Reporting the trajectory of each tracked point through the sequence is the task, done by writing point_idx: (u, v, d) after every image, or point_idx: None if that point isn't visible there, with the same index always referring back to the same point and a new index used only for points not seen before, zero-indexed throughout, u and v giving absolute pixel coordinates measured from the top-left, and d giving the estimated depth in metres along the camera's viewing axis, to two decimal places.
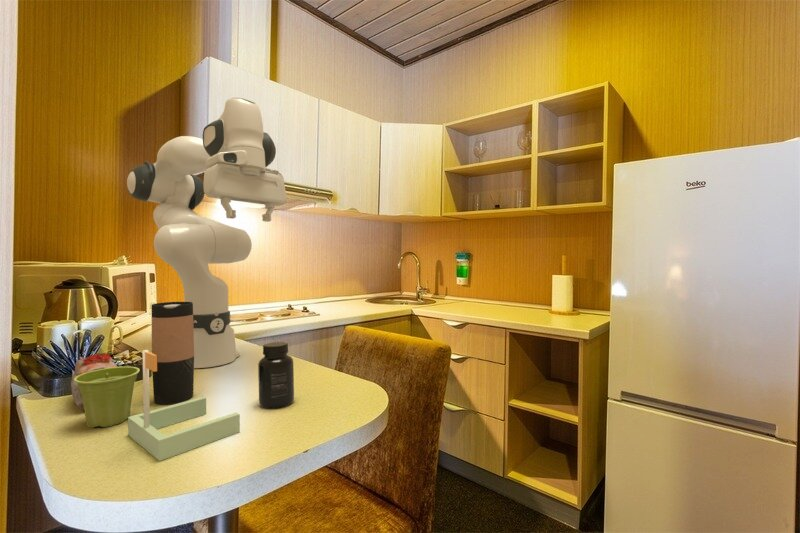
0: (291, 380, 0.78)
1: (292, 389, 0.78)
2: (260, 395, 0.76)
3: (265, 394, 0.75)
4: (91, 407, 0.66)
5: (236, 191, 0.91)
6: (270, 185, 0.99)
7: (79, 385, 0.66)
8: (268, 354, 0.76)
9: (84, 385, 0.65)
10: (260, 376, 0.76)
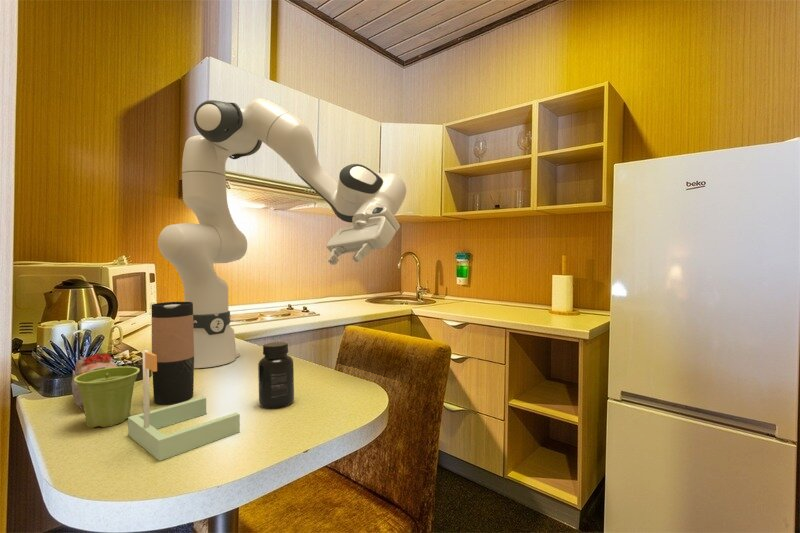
0: (291, 380, 0.78)
1: (292, 389, 0.78)
2: (260, 395, 0.76)
3: (265, 394, 0.75)
4: (90, 407, 0.66)
5: None
6: None
7: (79, 385, 0.66)
8: (268, 354, 0.76)
9: (84, 385, 0.65)
10: (260, 376, 0.76)
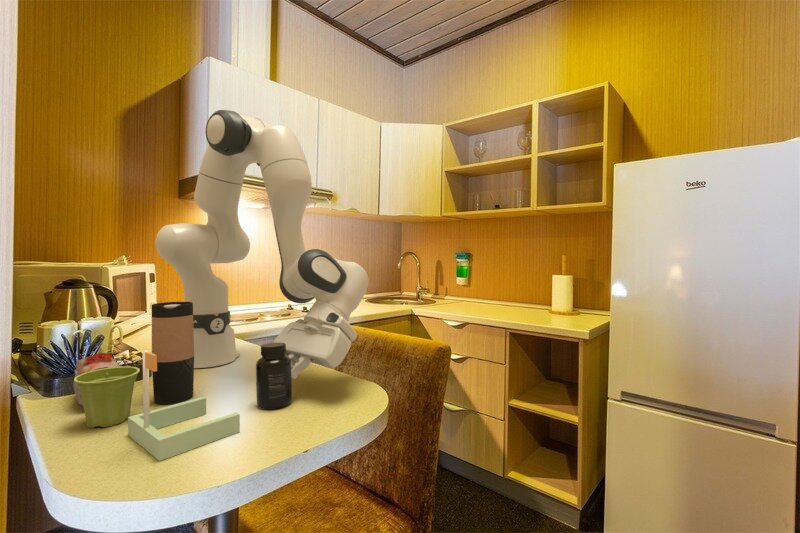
0: (289, 381, 0.77)
1: (290, 390, 0.77)
2: (258, 396, 0.76)
3: (262, 395, 0.75)
4: (90, 407, 0.66)
5: None
6: None
7: (79, 385, 0.66)
8: (266, 354, 0.76)
9: (84, 385, 0.65)
10: (258, 377, 0.75)
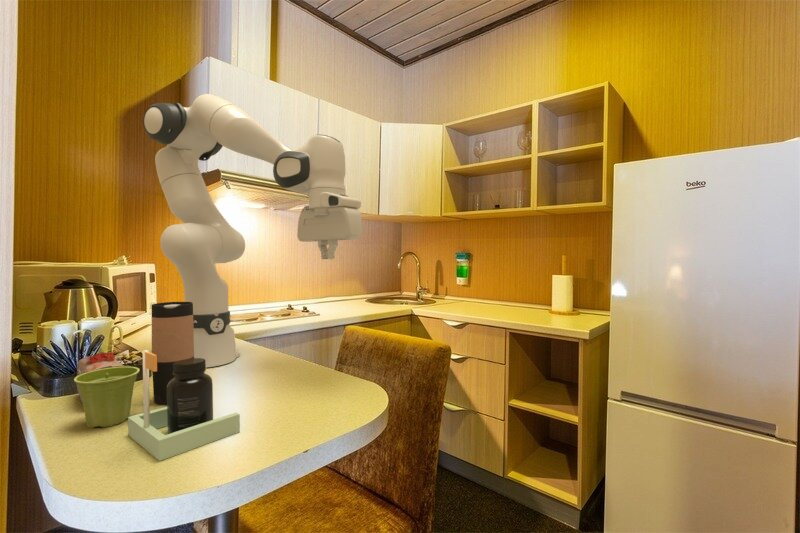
0: (206, 405, 0.64)
1: (208, 416, 0.65)
2: (167, 423, 0.63)
3: (171, 422, 0.62)
4: (90, 407, 0.66)
5: None
6: None
7: (79, 385, 0.66)
8: (177, 374, 0.63)
9: (84, 385, 0.65)
10: (167, 400, 0.63)
